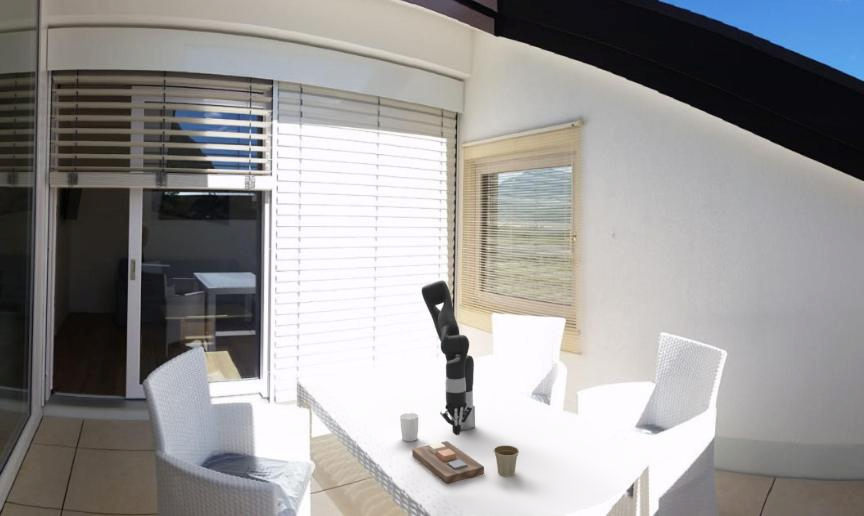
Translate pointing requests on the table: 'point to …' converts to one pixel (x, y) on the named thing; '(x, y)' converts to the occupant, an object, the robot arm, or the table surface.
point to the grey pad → (457, 464)
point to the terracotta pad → (446, 455)
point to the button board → (442, 467)
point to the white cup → (409, 426)
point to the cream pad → (436, 447)
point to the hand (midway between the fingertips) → (456, 434)
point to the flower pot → (506, 459)
